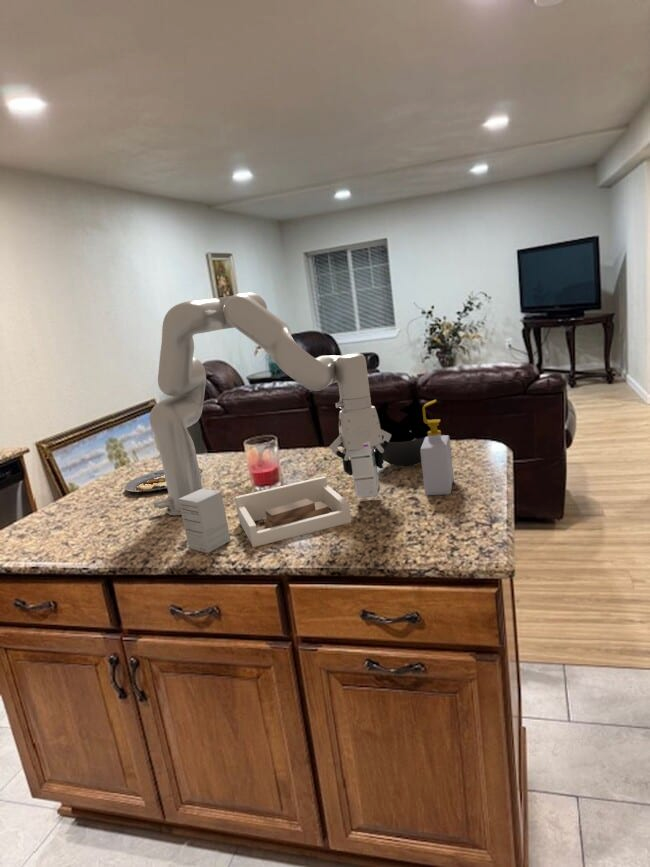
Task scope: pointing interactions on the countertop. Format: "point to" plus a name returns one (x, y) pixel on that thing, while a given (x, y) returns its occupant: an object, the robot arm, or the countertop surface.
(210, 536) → the supplement box
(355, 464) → the syrup box
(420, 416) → the coal bowl
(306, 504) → the offcut pile
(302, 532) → the tray
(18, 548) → the countertop surface
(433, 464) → the soap bottle
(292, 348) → the robot arm
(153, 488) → the food plate
